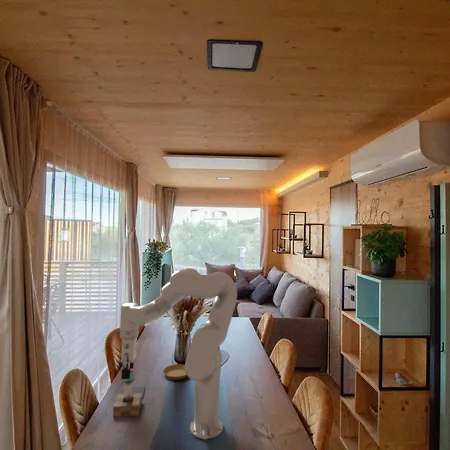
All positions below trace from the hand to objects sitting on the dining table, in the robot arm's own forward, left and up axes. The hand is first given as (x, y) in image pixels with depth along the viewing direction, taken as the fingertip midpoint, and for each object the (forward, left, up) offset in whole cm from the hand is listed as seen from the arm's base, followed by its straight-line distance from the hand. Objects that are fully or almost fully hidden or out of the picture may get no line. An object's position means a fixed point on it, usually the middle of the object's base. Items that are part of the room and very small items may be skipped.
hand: (127, 373), depth 136 cm
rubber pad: (+13, 0, -15) cm, 20 cm away
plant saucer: (+31, -20, -15) cm, 40 cm away
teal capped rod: (0, 0, -15) cm, 15 cm away
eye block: (0, 0, -15) cm, 15 cm away
